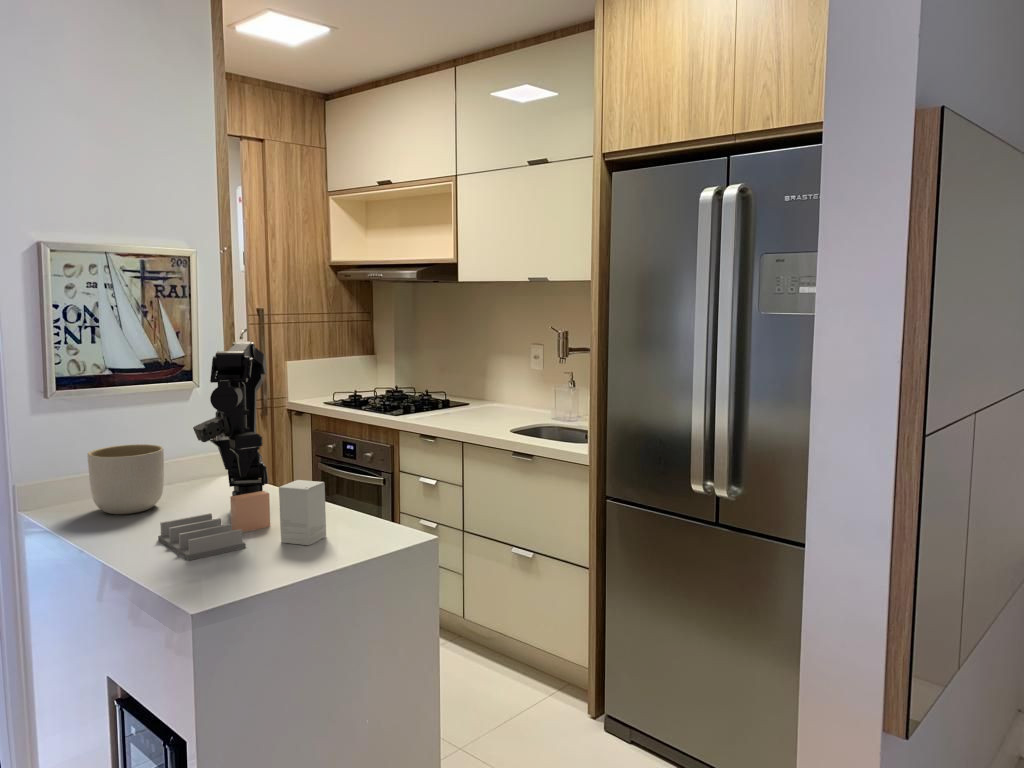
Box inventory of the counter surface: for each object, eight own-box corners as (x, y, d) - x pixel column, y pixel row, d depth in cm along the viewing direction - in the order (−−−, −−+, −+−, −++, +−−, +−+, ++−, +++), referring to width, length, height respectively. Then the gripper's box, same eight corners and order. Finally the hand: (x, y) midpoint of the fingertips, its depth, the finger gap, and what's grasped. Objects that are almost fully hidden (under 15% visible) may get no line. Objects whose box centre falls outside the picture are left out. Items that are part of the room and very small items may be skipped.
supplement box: (327, 536, 171) (326, 481, 169) (308, 546, 164) (306, 489, 162) (299, 533, 173) (297, 478, 172) (279, 542, 166) (277, 486, 165)
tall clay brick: (264, 523, 181) (263, 490, 180) (270, 526, 178) (269, 493, 178) (231, 530, 175) (230, 496, 174) (237, 533, 173) (235, 499, 172)
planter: (171, 512, 190) (169, 452, 188) (94, 523, 180) (91, 460, 179) (159, 497, 204) (157, 441, 202) (87, 506, 194) (84, 448, 193)
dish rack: (212, 529, 176) (211, 512, 175) (245, 547, 163) (244, 529, 162) (158, 540, 168) (157, 522, 167) (188, 560, 154) (187, 541, 154)
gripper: (183, 404, 175) (185, 470, 177) (211, 413, 161) (214, 485, 163) (231, 400, 182) (233, 464, 184) (262, 409, 168) (264, 478, 170)
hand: (235, 472), depth 175 cm, fingers open, 9 cm apart
